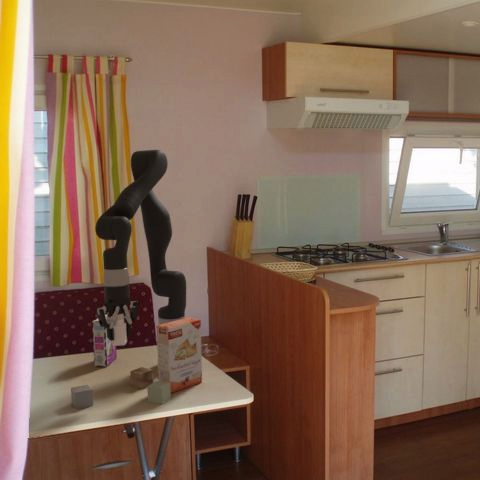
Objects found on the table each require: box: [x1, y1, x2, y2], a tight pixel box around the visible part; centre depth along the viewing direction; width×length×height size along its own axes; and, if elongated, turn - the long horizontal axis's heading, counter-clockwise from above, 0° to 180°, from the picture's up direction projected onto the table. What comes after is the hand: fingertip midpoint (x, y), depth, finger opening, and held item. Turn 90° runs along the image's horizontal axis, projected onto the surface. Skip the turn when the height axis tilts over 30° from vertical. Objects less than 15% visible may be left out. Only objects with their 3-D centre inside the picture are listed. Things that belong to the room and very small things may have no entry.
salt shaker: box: [112, 314, 128, 347], centre depth 201 cm, size 4×4×10 cm
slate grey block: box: [70, 384, 94, 410], centre depth 197 cm, size 5×5×5 cm
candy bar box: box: [91, 314, 118, 368], centre depth 237 cm, size 11×5×16 cm, turn 172°
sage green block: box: [146, 380, 172, 405], centre depth 199 cm, size 5×5×5 cm
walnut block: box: [129, 366, 154, 390], centre depth 212 cm, size 5×5×5 cm
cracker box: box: [156, 316, 203, 394], centre depth 209 cm, size 14×6×21 cm, turn 137°
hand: (119, 337), depth 201 cm, fingers closed on salt shaker, 5 cm apart
